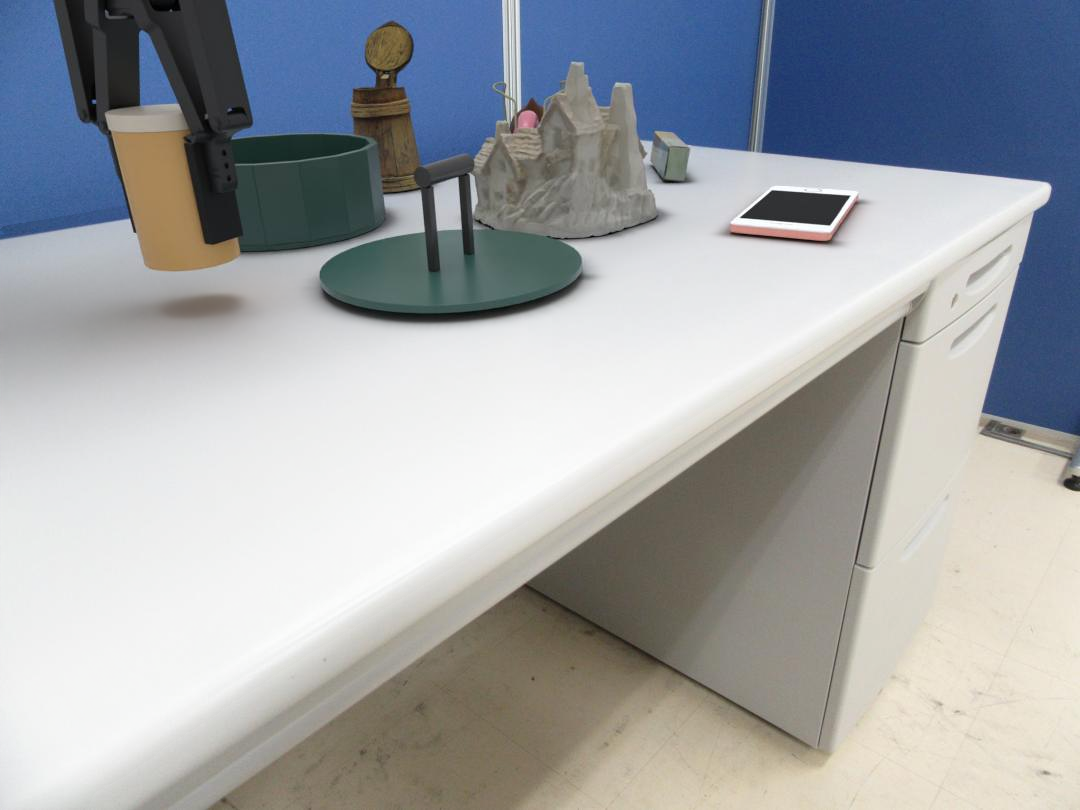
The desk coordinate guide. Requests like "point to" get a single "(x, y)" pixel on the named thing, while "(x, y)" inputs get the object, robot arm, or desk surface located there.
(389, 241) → the lid
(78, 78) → the robot arm
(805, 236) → the cell phone
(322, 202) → the pot
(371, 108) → the wooden mug
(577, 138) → the ceramic cottage
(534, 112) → the anatomy model
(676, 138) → the medication box
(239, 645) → the desk surface
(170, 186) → the tan canister with cap
